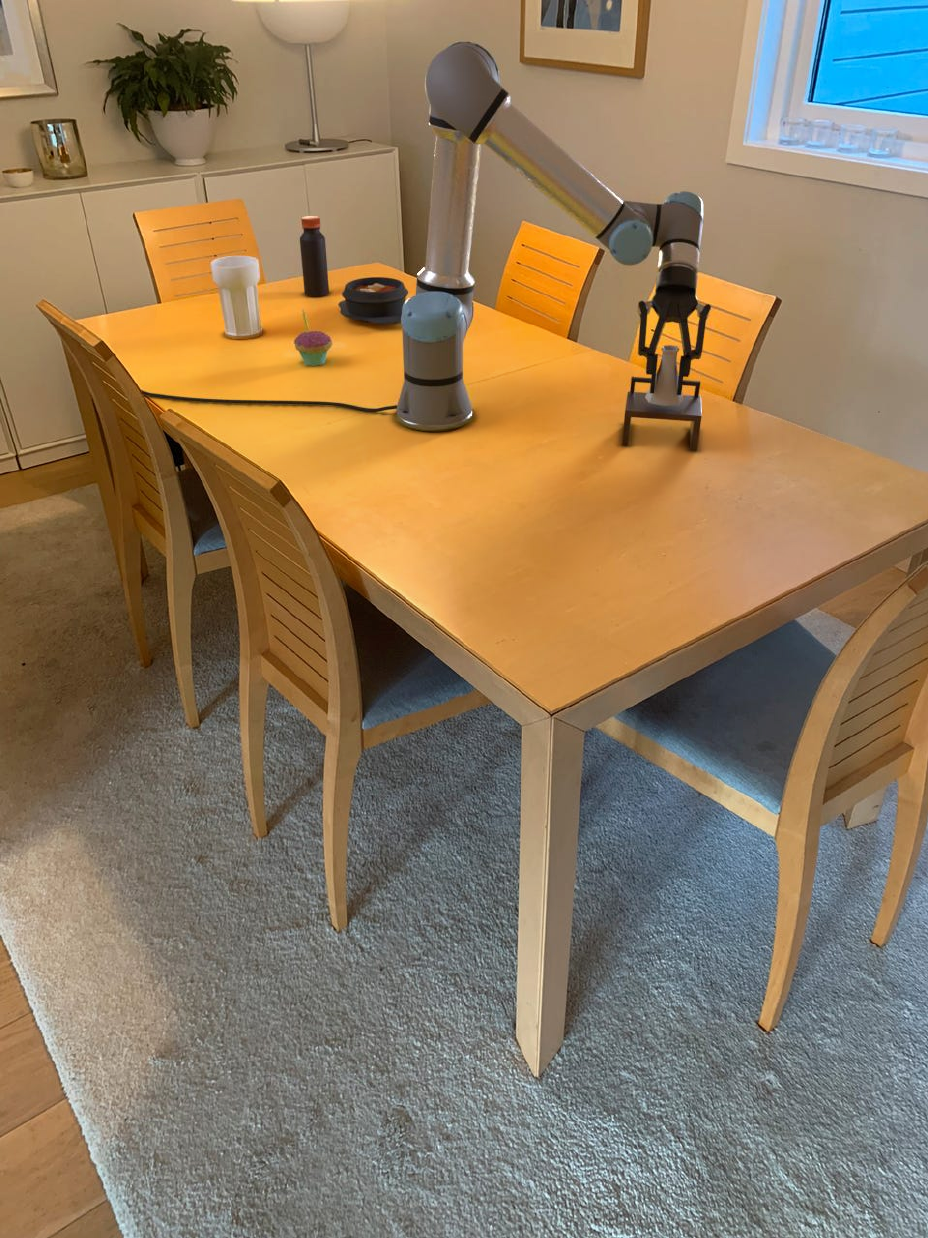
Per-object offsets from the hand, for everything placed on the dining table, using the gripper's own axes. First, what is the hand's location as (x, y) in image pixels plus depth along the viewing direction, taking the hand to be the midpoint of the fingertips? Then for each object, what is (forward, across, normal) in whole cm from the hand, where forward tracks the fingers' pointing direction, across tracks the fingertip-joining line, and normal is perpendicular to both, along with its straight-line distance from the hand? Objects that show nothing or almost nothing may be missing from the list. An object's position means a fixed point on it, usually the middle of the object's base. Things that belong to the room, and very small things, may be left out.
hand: (665, 390), depth 176 cm
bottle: (-54, +96, -70) cm, 131 cm away
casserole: (-41, +74, -57) cm, 102 cm away
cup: (-28, +103, -44) cm, 115 cm away
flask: (0, 0, -5) cm, 5 cm away
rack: (+5, 0, -11) cm, 12 cm away
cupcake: (-16, +79, -32) cm, 87 cm away
